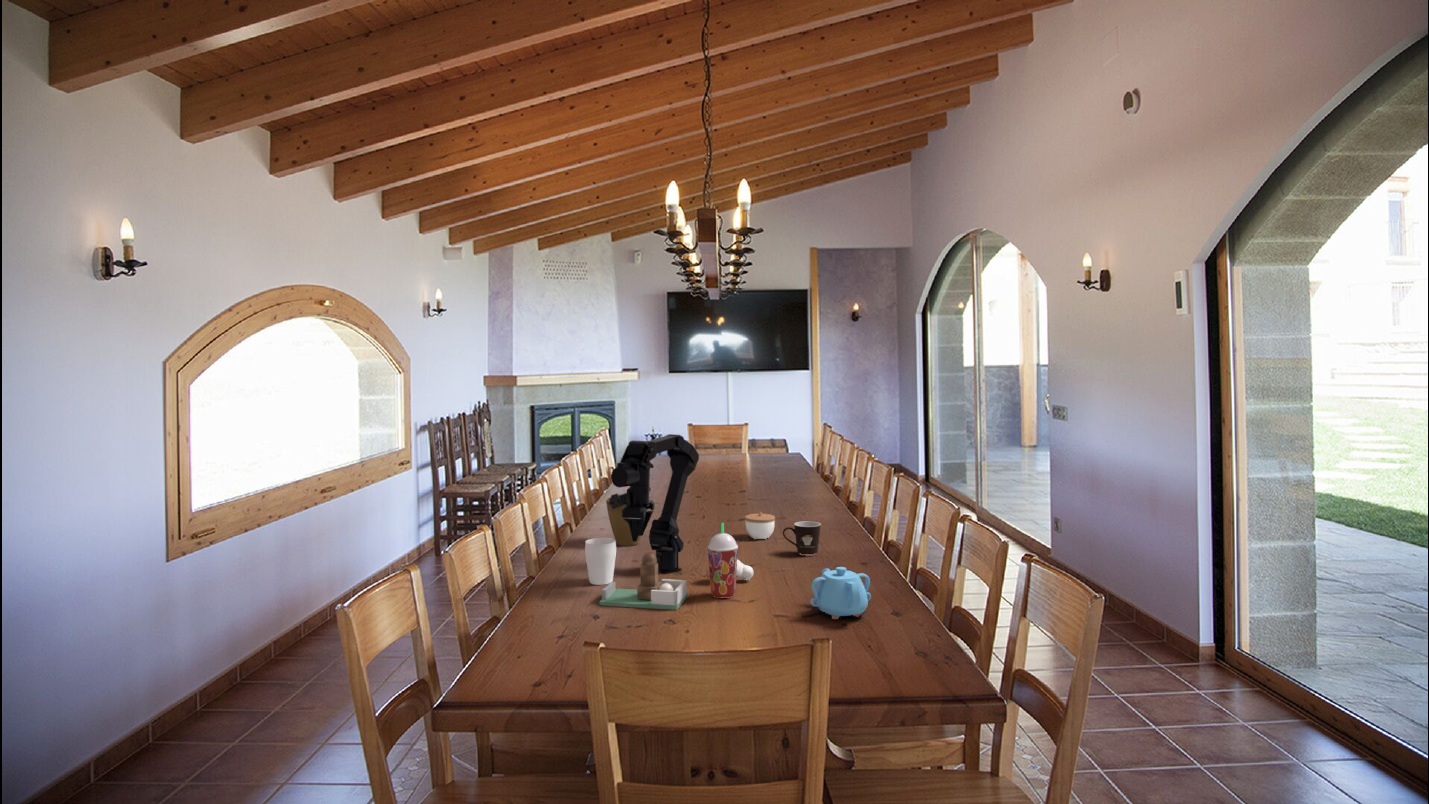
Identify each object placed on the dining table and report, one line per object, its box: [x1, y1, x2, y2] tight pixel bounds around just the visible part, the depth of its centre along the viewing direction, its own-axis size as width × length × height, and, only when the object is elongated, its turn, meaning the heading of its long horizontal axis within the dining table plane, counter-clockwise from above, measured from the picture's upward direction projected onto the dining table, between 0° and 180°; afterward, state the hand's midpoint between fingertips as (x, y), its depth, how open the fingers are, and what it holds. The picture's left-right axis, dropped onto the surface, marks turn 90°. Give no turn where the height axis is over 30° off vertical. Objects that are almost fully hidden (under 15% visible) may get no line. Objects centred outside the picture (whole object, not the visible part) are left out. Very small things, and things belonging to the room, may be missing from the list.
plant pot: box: [605, 496, 642, 547], centre depth 279 cm, size 15×15×16 cm
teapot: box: [809, 566, 872, 617], centre depth 203 cm, size 20×17×12 cm
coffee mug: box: [782, 520, 822, 554], centre depth 263 cm, size 12×9×10 cm
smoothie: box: [707, 522, 739, 598], centre depth 218 cm, size 8×8×20 cm
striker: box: [636, 552, 662, 600], centre depth 214 cm, size 5×6×12 cm
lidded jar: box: [744, 511, 776, 540], centre depth 286 cm, size 11×11×9 cm
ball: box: [659, 583, 674, 591], centre depth 213 cm, size 4×4×4 cm
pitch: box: [599, 578, 689, 611], centre depth 214 cm, size 21×12×4 cm, turn 78°
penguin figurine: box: [736, 558, 754, 581], centre depth 232 cm, size 6×8×12 cm
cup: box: [584, 537, 617, 586], centre depth 232 cm, size 9×9×12 cm
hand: (637, 538), depth 230 cm, fingers open, 9 cm apart
